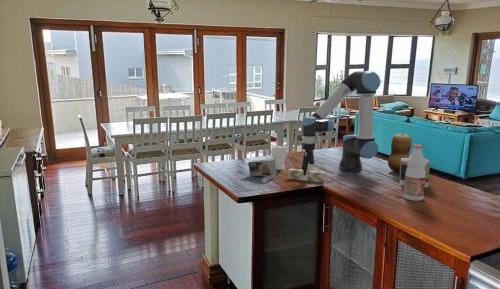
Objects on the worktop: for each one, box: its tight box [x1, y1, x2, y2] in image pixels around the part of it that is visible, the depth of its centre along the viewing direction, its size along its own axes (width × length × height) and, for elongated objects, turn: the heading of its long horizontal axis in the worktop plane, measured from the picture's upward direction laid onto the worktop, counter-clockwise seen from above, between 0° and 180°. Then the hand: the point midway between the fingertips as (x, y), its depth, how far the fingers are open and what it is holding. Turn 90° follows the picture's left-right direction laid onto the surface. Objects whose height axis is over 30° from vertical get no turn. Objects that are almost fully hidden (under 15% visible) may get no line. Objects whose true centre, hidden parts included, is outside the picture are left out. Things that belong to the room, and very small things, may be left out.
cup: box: [270, 144, 288, 171], centre depth 256 cm, size 11×11×15 cm
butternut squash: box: [387, 133, 412, 173], centre depth 246 cm, size 14×13×25 cm
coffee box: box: [247, 158, 278, 177], centre depth 236 cm, size 9×6×16 cm
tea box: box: [399, 158, 431, 189], centre depth 219 cm, size 15×10×15 cm, turn 71°
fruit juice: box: [403, 143, 426, 202], centre depth 194 cm, size 9×9×28 cm
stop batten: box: [261, 173, 277, 184], centre depth 233 cm, size 2×20×2 cm, turn 157°
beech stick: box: [287, 168, 326, 184], centre depth 229 cm, size 22×3×6 cm, turn 68°
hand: (307, 177), depth 230 cm, fingers open, 13 cm apart
